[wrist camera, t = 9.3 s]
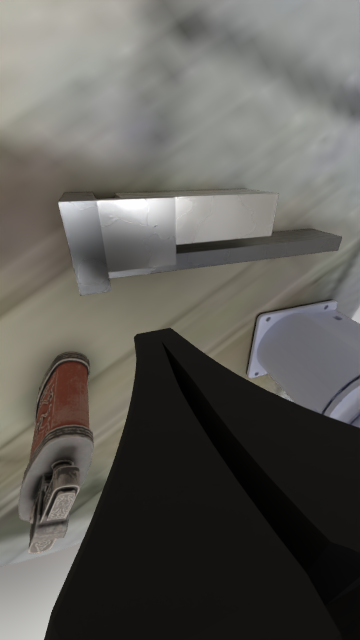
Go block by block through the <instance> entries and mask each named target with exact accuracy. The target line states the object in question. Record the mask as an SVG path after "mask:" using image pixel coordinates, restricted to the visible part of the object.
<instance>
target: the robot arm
mask: <svg viewBox="0 0 360 640" xmlns="http://www.w3.org/2000/svg"><path fill="white" fill-rule="evenodd" d="M336 307H337V302H336V301H334V300H331V301H326V302H321V303H316V304H311V305H306V306H300V307H295V308H290V309H285V310H280V311H275V312H269V313H264V314H261V315H259V317H258V318H257V323H256V328H255V334H254V339H253V344H252V350H251V355H250V360H249V366H248V371H247V376H248V377H249V378H254V377H258V376H261V375H265V374H269V375H270V376H271V377H272V378H273V379H274V380H275V381H276V383H277V384H278V385H279V386H280V387H281V388H282V389H283V390H284V391H285V392H286V393H287V395H288V396H289V397H290V398H291V399H292V400H293V401H294V402H295V403H294V402H291V401H289V400H287V399H284V398H282V397H280V396H278V395H276V394H273V393H271V392H269V391H267V390H265V389H263V388H261V387H259V386H257V385H256V384H254V383H252V382H250V381H248V380H246V379H244V378H242V377H241V376H239V375H237V374H235V373H234V372H232V371H231V370H229V369H227V368H226V367H224V366H222V365H221V364H219V363H218V362H216V361H215V360H213V359H212V358H210V357H209V356H207V355H206V354H205V353H203V352H202V351H200V350H199V349H198V348H196V347H195V346H194V345H192V344H191V343H190V342H188V341H187V340H186V339H184V338H183V337H182V336H181V335H179V334H178V333H177V332H175V331H174V330H173V329H171V328H167V329H162V330H157V331H151V332H146V333H141V334H137V335H136V336H135V337H134V342H135V350H136V359H137V360H136V371H135V380H134V386H133V391H132V397H131V402H130V406H129V411H128V415H127V419H126V422H125V426H124V430H123V433H122V436H121V440H120V443H119V446H118V449H117V452H116V456H115V459H114V462H113V465H112V467H111V470H110V473H109V476H108V478H107V481H106V484H105V486H104V489H103V491H102V494H101V497H100V499H99V502H98V504H97V507H96V510H95V512H94V515H93V517H92V520H91V522H90V525H89V527H88V530H87V532H86V534H85V537H84V539H83V541H82V543H81V546H80V548H79V550H78V553H77V555H76V557H75V559H74V562H73V564H72V566H71V569H70V571H69V573H68V575H67V578H66V580H65V582H64V585H63V587H62V589H61V591H60V594H59V596H58V598H57V600H56V603H55V605H54V607H53V610H52V612H51V616H50V620H49V623H48V627H47V631H46V635H45V638H44V640H360V324H359V323H357V322H356V321H353V320H352V319H350V318H348V317H347V316H345V315H343V314H341V313H339V312H338V311H336Z"/></svg>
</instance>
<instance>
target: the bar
mask: <svg viewBox="0 0 360 640" xmlns="http://www.w3.org/2000/svg"><path fill="white" fill-rule="evenodd" d="M159 196H172V197H175V207H176V245H177V244H188V243H198V242H209V241H220V240H230V239H241V238H252V237H263V236H271V234H272V229H273V224H274V218H275V213H276V207H277V202H278V196H279V193H274V192H266V191H258V190H250V189H230V190H198V191H166V192H133V193H115V198H132V197H159Z"/></svg>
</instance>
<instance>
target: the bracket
mask: <svg viewBox="0 0 360 640" xmlns="http://www.w3.org/2000/svg"><path fill="white" fill-rule="evenodd" d="M58 203H59V207H60V211H61V216H62V220H63V224H64V228H65V233H66V237H67V241H68V245H69V250H70V254H71V258H72V262H73V267H74V271H75V275H76V279H77V284H78V288H79V292H80V296H81V295H89V294H96V293H103V292H110V291H111V286H110V280H109V279H110V278H118V277H126V276H134V275H142V274H150V273H158V272H166V271H174V270H183V269H191V268H199V267H207V266H215V265H223V264H231V263H239V262H247V261H255V260H264V259H272V258H280V257H288V256H296V255H304V254H312V253H320V252H328V251H337V250H338V249H339V246H340V243H341V240H342V237H341V236H338V235H334V234H330V233H326V232H322V231H319V230H315V229H303V230H292V231H281V232H272V234H271V236H263V237H252V238H241V239H230V240H220V241H209V242H198V243H188V244H177V245H176V207H175V197H172V196H159V197H132V198H104V199H96V198H95V197H94V195H93V193H92V192H69V193H64V194H63V195H62V197H61V199H60V200H59V202H58Z"/></svg>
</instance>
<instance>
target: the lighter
mask: <svg viewBox="0 0 360 640" xmlns="http://www.w3.org/2000/svg"><path fill="white" fill-rule="evenodd" d="M89 373H90V367H89V360H88V359H87V357H86V356H84V355H82V354H80V353H76V352H67V353H63V354H61V355H59V356H57V357H56V358H55V360H54V361H53V363H52V365H51V366H50V368H49V369H48V371H47V373H46V375H45V377H44V379H43V382H42V384H41V386H40V389H39V393H38V398H37V403H36V408H35V431H34V437H33V443H32V448H31V454H30V460H29V463H28V465H27V468H26V470H25V472H24V477H23V481H22V486H21V491H20V497H19V517H20V519H22V520H24V521H30V523H31V529H30V543H29V551H28V552H29V553H30V554H34V553H40V552H44V551H47V550H49V549H50V548H51V547H52V546H53V544H54V542H55V540H56V539H58V538H63V537H64V536H65V534H66V531H67V527H68V521H69V515H70V508H71V506H72V504H73V502H74V500H75V498H76V496H77V494H78V492H79V489H80V488H81V486H82V484H83V482H84V481H85V478H86V476H87V473H88V470H89V467H90V465H91V460H92V454H93V448H94V444H93V433H92V431H91V430H90V429H89V409H88V380H89Z"/></svg>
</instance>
